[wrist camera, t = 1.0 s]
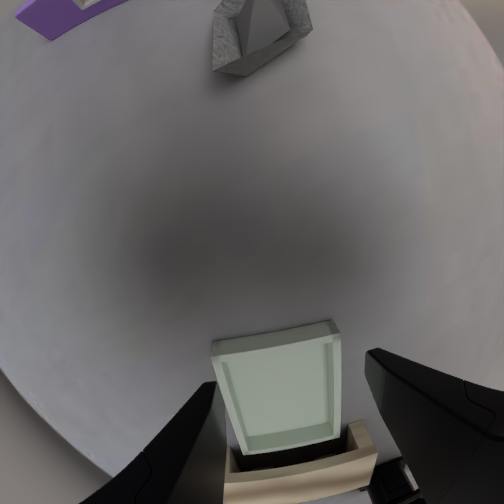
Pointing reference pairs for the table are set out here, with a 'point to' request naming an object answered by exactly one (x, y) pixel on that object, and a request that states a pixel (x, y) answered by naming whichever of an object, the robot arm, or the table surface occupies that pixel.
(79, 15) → the miniature room corner
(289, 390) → the tray
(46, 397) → the table surface
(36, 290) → the table surface
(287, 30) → the paper boat
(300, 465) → the wooden block
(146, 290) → the table surface
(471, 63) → the table surface
